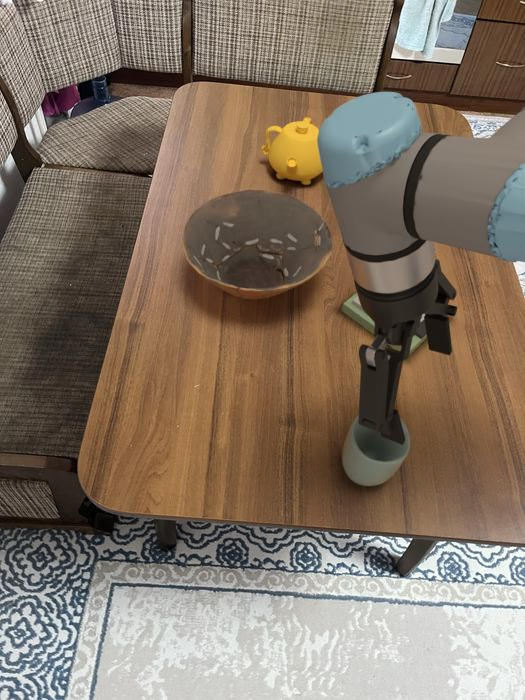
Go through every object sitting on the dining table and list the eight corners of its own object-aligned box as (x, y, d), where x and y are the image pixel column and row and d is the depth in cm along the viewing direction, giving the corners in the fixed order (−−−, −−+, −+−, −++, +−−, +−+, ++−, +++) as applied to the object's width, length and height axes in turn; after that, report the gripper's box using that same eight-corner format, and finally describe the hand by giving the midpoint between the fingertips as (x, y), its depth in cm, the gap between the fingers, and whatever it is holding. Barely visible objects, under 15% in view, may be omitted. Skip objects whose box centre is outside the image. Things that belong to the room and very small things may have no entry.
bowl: (307, 227, 106) (315, 185, 98) (337, 323, 91) (348, 283, 83) (180, 234, 102) (176, 191, 94) (189, 335, 88) (187, 294, 80)
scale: (448, 317, 94) (454, 306, 92) (406, 358, 88) (411, 347, 86) (384, 274, 99) (388, 263, 97) (341, 310, 93) (344, 299, 91)
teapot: (285, 200, 110) (292, 152, 101) (253, 163, 117) (256, 115, 108) (342, 182, 115) (352, 135, 106) (308, 148, 122) (315, 101, 113)
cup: (394, 494, 74) (416, 464, 66) (339, 493, 73) (354, 463, 65) (386, 443, 78) (406, 409, 70) (334, 442, 78) (347, 408, 70)
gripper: (411, 179, 56) (430, 311, 72) (291, 358, 47) (342, 466, 62) (484, 186, 52) (487, 324, 67) (367, 384, 42) (402, 493, 58)
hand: (417, 392), depth 65 cm, fingers open, 13 cm apart
